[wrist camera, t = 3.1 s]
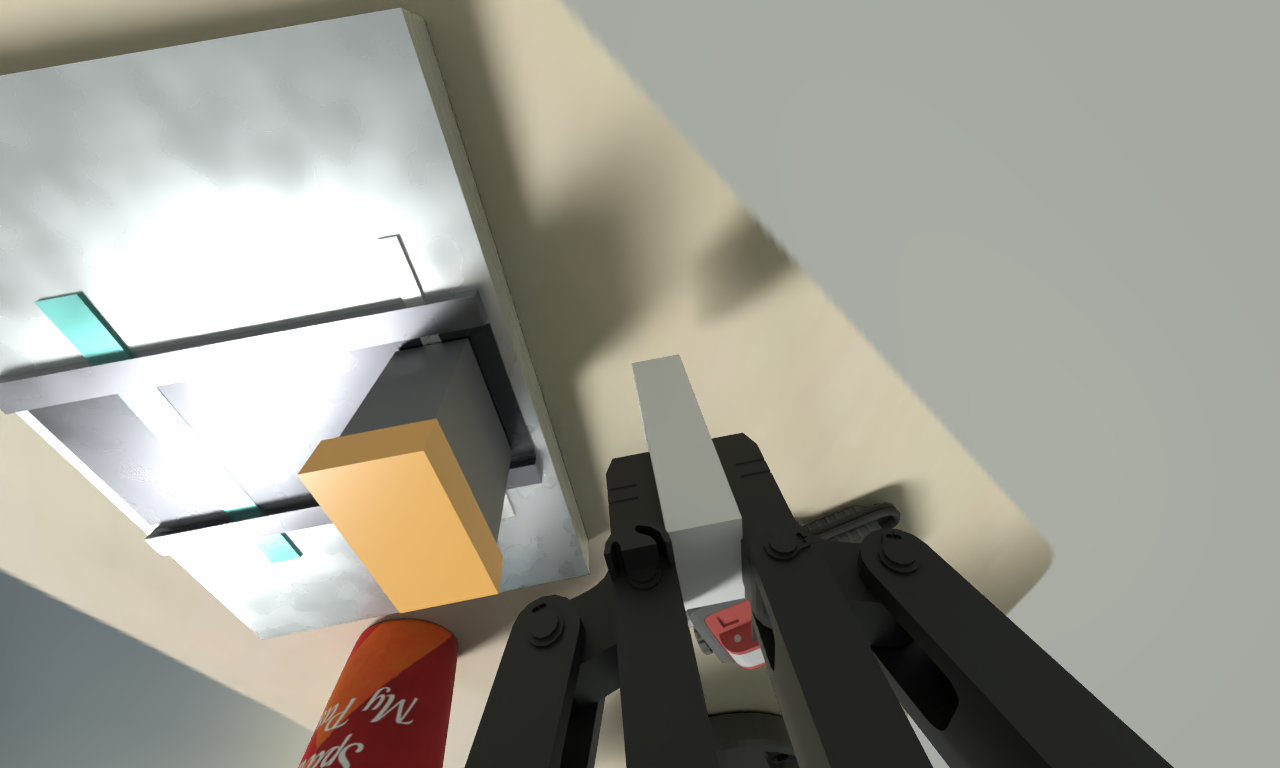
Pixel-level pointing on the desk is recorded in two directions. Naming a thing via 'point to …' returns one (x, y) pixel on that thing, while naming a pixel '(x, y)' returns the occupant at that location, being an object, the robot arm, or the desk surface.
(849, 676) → the robot arm
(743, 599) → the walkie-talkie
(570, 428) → the desk surface
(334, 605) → the console board
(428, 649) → the paper cup
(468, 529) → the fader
